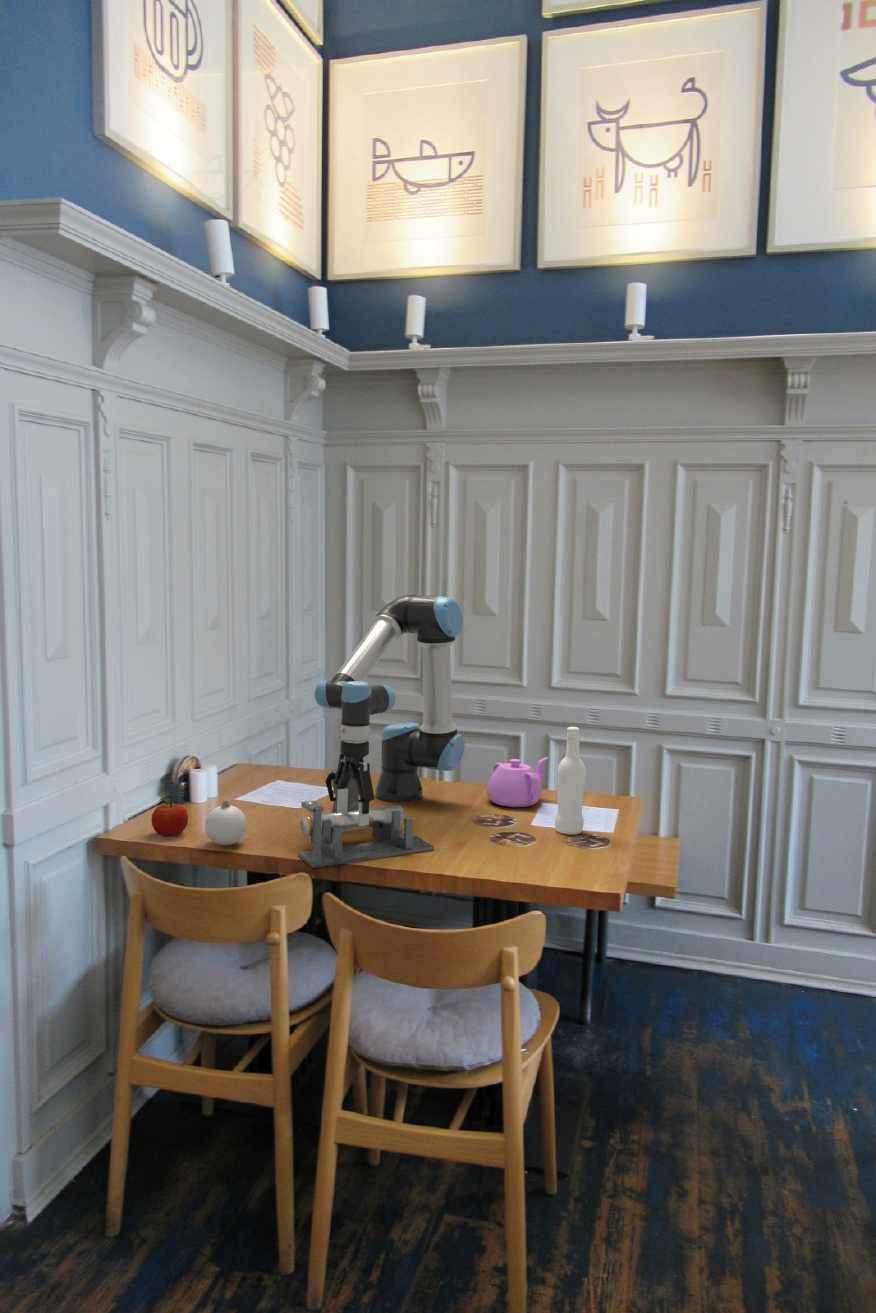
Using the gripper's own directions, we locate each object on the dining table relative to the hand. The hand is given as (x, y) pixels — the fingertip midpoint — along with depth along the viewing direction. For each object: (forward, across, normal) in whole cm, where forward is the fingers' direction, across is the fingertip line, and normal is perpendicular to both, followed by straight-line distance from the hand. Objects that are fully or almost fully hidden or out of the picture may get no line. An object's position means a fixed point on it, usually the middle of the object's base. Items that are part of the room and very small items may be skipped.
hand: (352, 818), depth 253 cm
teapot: (+6, -16, +65) cm, 68 cm away
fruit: (+7, -26, -42) cm, 50 cm away
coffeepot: (+6, -17, +5) cm, 19 cm away
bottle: (+6, +16, +60) cm, 63 cm away
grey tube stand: (+7, +10, 0) cm, 12 cm away
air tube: (+3, 0, 0) cm, 3 cm away
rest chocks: (+6, 0, 0) cm, 6 cm away
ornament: (+7, -12, -31) cm, 34 cm away
